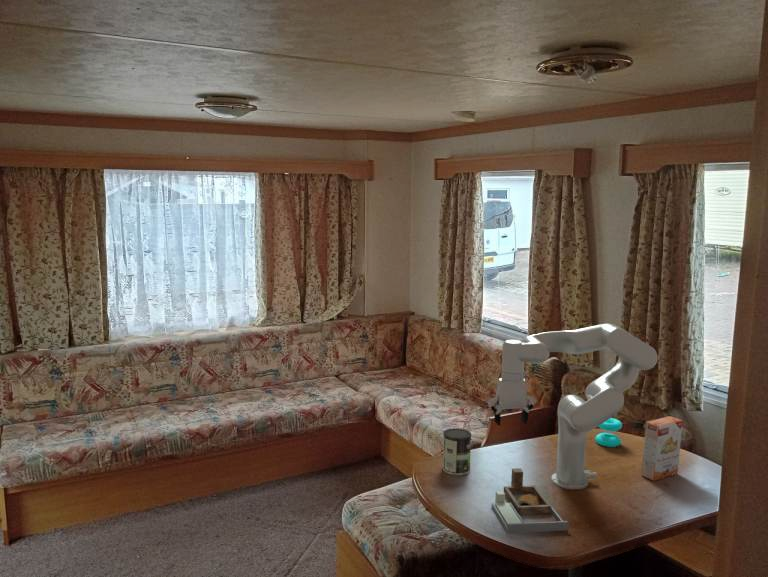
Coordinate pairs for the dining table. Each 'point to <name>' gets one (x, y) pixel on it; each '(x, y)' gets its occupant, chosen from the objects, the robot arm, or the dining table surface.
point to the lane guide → (534, 526)
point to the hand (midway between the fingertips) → (511, 423)
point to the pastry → (528, 500)
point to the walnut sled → (520, 489)
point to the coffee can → (456, 451)
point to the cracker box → (661, 447)
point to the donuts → (609, 438)
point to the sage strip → (505, 509)
